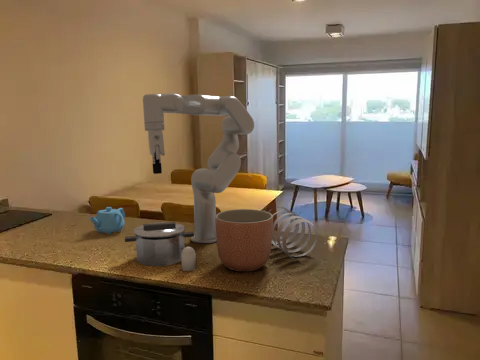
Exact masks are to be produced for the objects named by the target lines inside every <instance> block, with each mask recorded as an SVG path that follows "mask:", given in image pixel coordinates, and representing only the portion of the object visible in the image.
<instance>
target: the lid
mask: <svg viewBox="0 0 480 360" xmlns="http://www.w3.org/2000/svg"><path fill="white" fill-rule="evenodd" d="M183 232H186V227H185V225H183V224H181V223H176V222H175V221H173V222H171V221H170V222H166V221H165V222H150V223H144V224H142V225H138V226H136V227H135V228H134V229H133V234H134V236H136V235H137V236H140V237H146V238H163V237H170V236H175V235H179V234H181V233H183Z"/></svg>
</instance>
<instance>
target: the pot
mask: <svg viewBox="0 0 480 360" xmlns="http://www.w3.org/2000/svg"><path fill="white" fill-rule="evenodd" d="M194 235H195V232H194V231H184V232H183V233H181V234H179V235H175V236H170V237H163V238H146V237H140V236H137V235H132V236H131V235H129V236H128V235H127V236H124V242H125V243H129V242H135V249H136V251H135V252H136V263H139V264H140V265H143V266H147V267H163V266H171V265H174V264H179V263H180V262H182V260H181V252H182V250H183V249H184V248H185V238H191V237H194Z"/></svg>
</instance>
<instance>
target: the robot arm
mask: <svg viewBox="0 0 480 360" xmlns="http://www.w3.org/2000/svg"><path fill="white" fill-rule="evenodd" d="M142 106H143V107H142V109H143V110H142V111H143V123H144V124H143V125H144V131H145V132H147V134H148V136H147V138H148V149H149V155H151V156H152V172H153V174H154V175H158V174H162V172H163V171H162V169H163V168H162V160H161V158H162V157H161V156H163V157H164V156H165V155H166V153H165V152H166V151H165V141H164V133H163V131H165V130H166V129H165V114H181V115H182V114H183V115H190V116H208V117H209V116H211V117H213V116H214V117H224V118H223V119H222V121H221V131H222V139H221V141H220V142H219V144H218V145H217V146H216V148H215V149H214V150H213V152H212V153H211V155H210V156H209V157H208V158H207V167H208V168H206V167H202V168H201V167H200V168H197V169H195V171H193V172H192V174H191V179H190V181H191V188H192V192H193V193H192V195H193V213H194V215H193V219H194V237H190V241H192V242H193V243H196V244H211V243H217V242H216V229H215V216H216V214H217V210H216V209H217V204H216V203H217V199H216V196H215V194H220V193H222V192H224V191H225V190H226V189H227V188H228V187H229V186H230V184H231V182H232V181H233V180H234V179H235V177H236V176H237V174H238V173H239V171H240V169H241V164H242V160H241V157H240V155H239V154H238V153H237V152H238V150H239V148H240V142H239V136H238V135H241V136H242V135H250V134H251V133H252V132H253V131H254V129H255V122H254V118H253V117H252V115H251V114H250V112H249V111H248V110H247V108H246V107H245V106H244V104H242V102H241V101H240V100H239V99H238V98H237V97H236V96H233V95H227V96H226V95H225V96H218V95H209V94H208V95H207V94H187V95H182V94H181V95H180V94H179V93H147V94H144V95H143V96H142Z"/></svg>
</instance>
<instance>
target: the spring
mask: <svg viewBox="0 0 480 360" xmlns="http://www.w3.org/2000/svg"><path fill="white" fill-rule="evenodd" d="M278 208H279V209H283V210H278V211H277V212H275V213H273V214H272V215H273V217H274V216H275V215H276V214H277V213H280V212H282V211H285V212H287V213H283V214H281V215H279V216H278V217H277V218H276V219H275V220H274V221H273V230H272V244H273V245H274V246H275V247H277V248H278V249H280V250H281V252H283V253H285V255H286V256H288V258H290V259H292V260H293V261H297V262H300V260H299V259H296V258H294V257H297V258H299V257H304V256H306V255H308V254H309V253H310V252H311V251H313V250H314V248H315V246H316V245H317V241H318V237H319V236H318V231H317V229H316V228H315V226H314V224H313V223H312V222H311V221H310V220H308V219H306V218H303V217H302V216H300V215H298V214H296V213H295V212H293V211H292V210H289V209H287V207H283V206H277V207H274V208H273V209H278ZM273 209H270V211H271V210H273ZM287 215H289V217H287V218H285V219H284V220H283V221H281V223H280V224H279V226H278V228H277V230H276V241H275V235H274V234H275V233H274V232H275V228H276V226H277V223H278V222H279V221H280V220H281V219H282V218H283V217H285V216H287ZM289 221H290V222H289ZM288 222H289V224H288V225H287V226H286V224H287V223H288ZM300 224H301V230H300ZM305 224H307V228H308V233H307V237H306V239H305V241H304V243H302V244H301V245H300V246H299V247H297V248H296V249H291V248H293V247H296V246H297V245H299V243H300V242H301V241H302V240H303V238H304V236H305V233H306V225H305ZM311 225H312V226H313V227H314V229H315V239H314V242H313V243H312V245H311V247H310V248H309V249H308V250H307V251H305V252H304V253H302V254H298V255H294V256H293V255H291V253H296V252H299V251H302V250H303V249H304V248H305V247H306V246H307V245H308V243H309V242H310V239H311V236H312V229H311ZM284 226H286V228H285V229H284V231H283V233H281V232H282V230H283V228H284ZM293 227H294V230H293ZM292 230H293V232H292V233H291V235H290V236H289V234H290V232H291V231H292ZM299 230H300V231H301V232H300V233H299V236H298V237H297V235H298V232H299ZM281 234H282V235H281ZM295 237H297V238H296V240H294V239H295ZM292 240H294V242H292V243H291V241H292ZM281 243H282V244H281ZM288 243H289V244H288ZM277 244H278V245H277ZM287 248H288V249H291V250H288V249H287Z"/></svg>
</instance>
